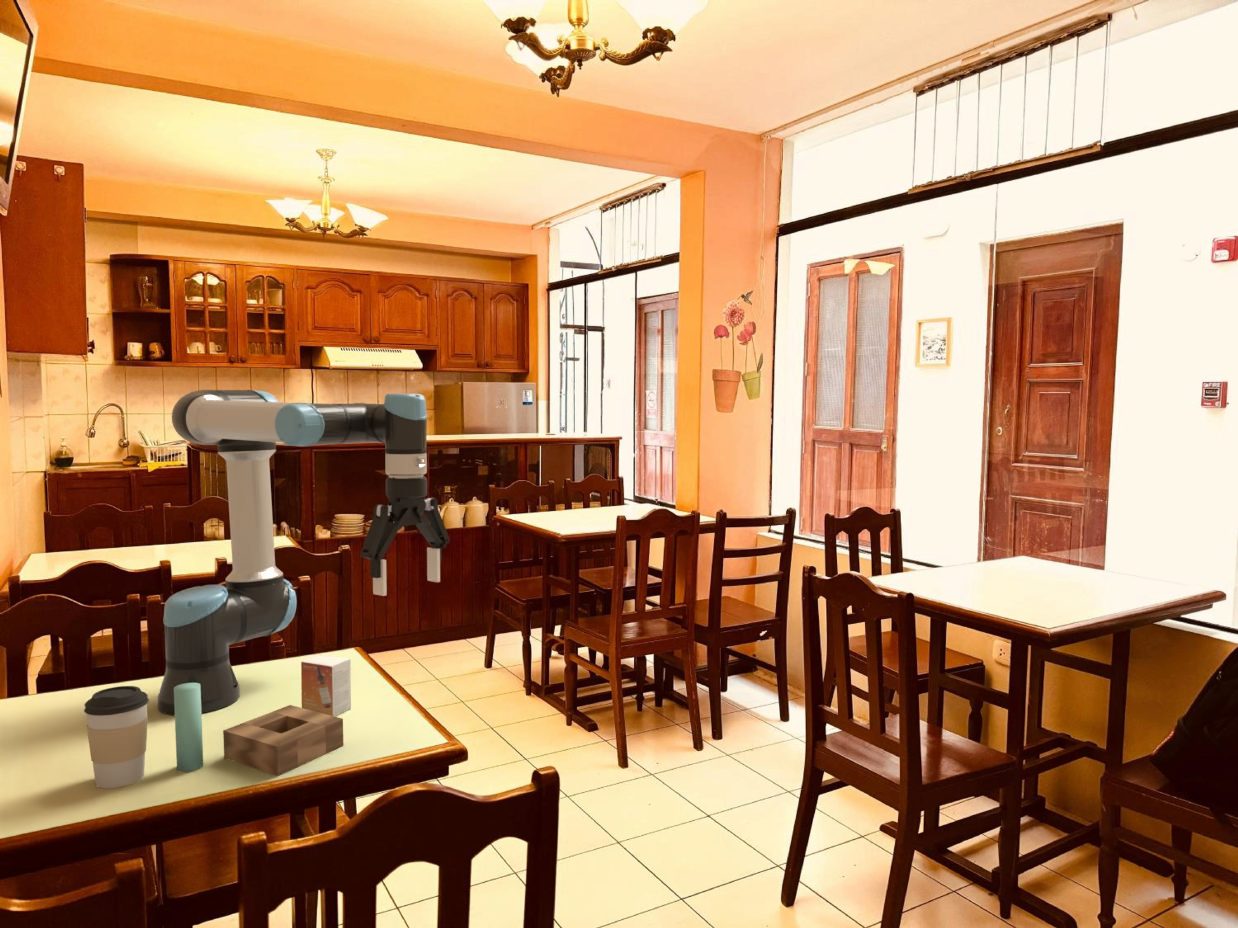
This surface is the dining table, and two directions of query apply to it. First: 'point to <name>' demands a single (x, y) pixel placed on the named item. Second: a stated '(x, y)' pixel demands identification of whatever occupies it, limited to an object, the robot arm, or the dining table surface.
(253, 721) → the socket
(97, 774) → the coffee cup
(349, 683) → the small box
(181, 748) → the peg
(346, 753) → the dining table surface
